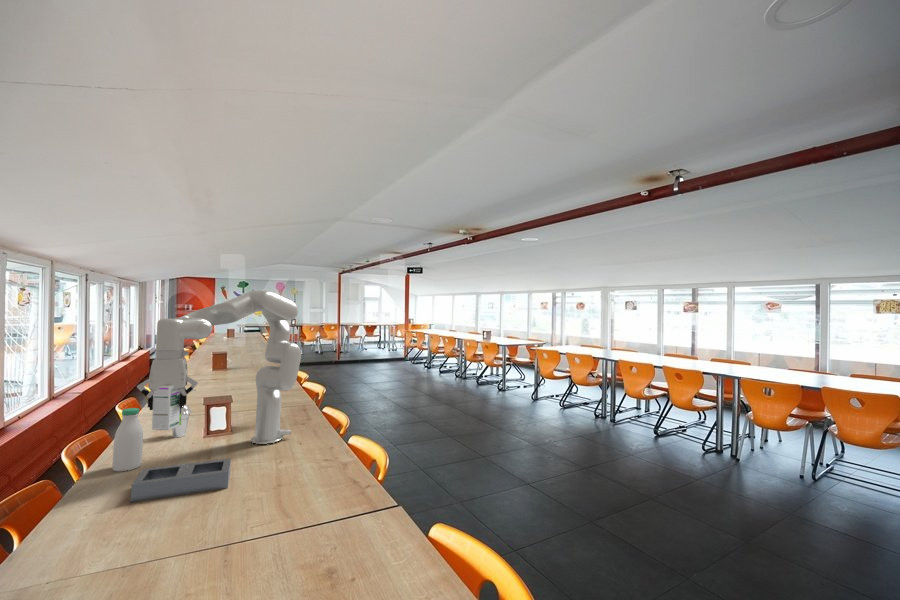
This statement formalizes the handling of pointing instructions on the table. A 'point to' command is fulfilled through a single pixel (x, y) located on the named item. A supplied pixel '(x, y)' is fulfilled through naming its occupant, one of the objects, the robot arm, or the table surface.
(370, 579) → the table surface
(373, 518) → the table surface
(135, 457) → the milk bottle
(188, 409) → the cup with straw
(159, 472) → the slotted tray
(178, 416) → the syrup box
